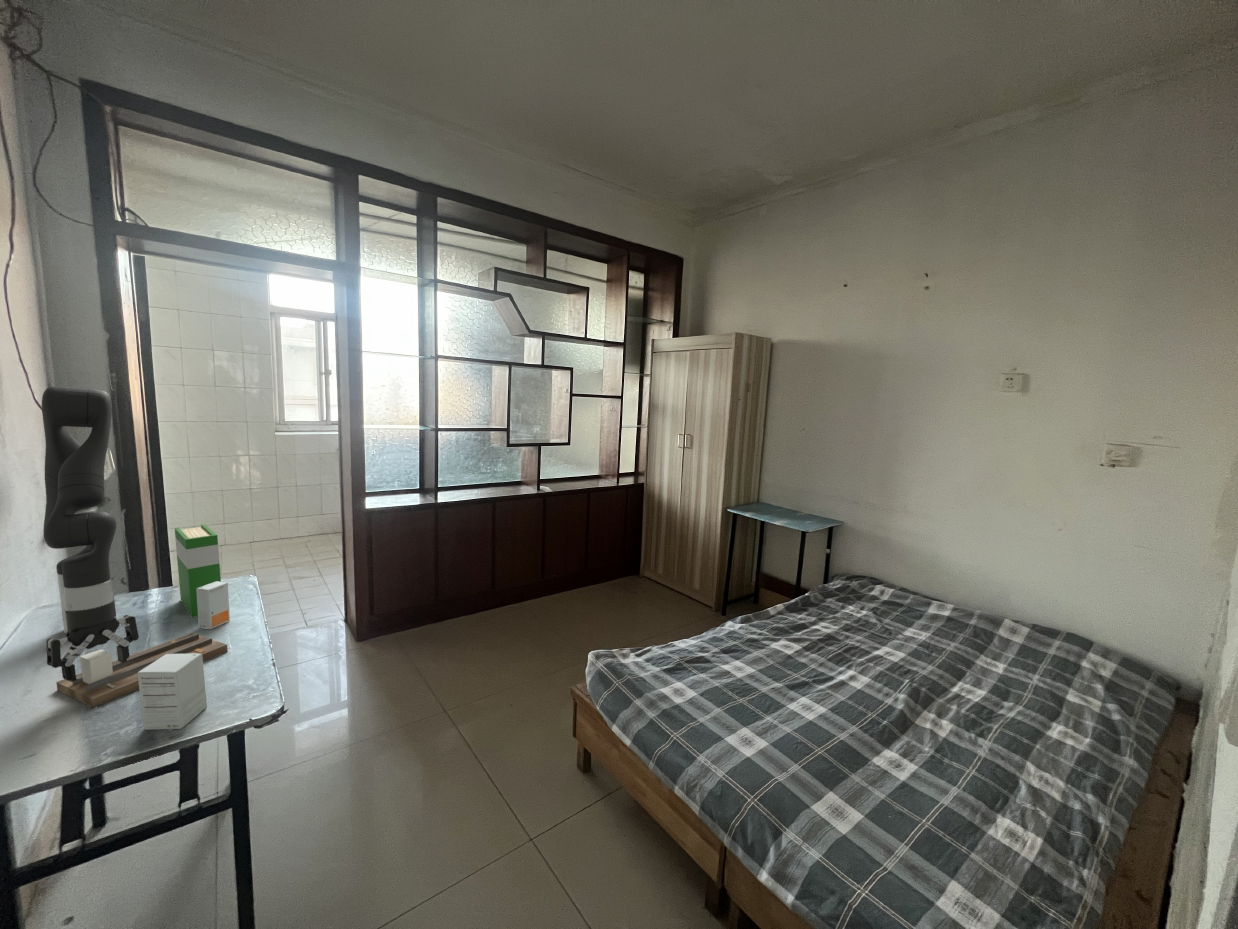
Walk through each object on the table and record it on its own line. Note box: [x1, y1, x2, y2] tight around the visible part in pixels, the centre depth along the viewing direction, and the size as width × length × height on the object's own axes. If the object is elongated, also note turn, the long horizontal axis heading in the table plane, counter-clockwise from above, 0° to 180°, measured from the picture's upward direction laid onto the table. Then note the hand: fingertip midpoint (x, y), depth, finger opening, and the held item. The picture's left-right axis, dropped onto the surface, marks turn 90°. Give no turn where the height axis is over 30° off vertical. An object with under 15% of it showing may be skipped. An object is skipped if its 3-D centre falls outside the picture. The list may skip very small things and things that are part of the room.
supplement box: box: [138, 653, 208, 731], centre depth 102 cm, size 7×7×13 cm
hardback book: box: [174, 523, 222, 618], centre depth 155 cm, size 18×7×24 cm, turn 49°
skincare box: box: [196, 581, 231, 630], centre depth 143 cm, size 6×4×12 cm
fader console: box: [56, 632, 228, 708], centre depth 120 cm, size 15×26×3 cm, turn 158°
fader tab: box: [79, 649, 113, 684], centre depth 111 cm, size 4×4×6 cm
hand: (97, 670), depth 111 cm, fingers open, 8 cm apart
